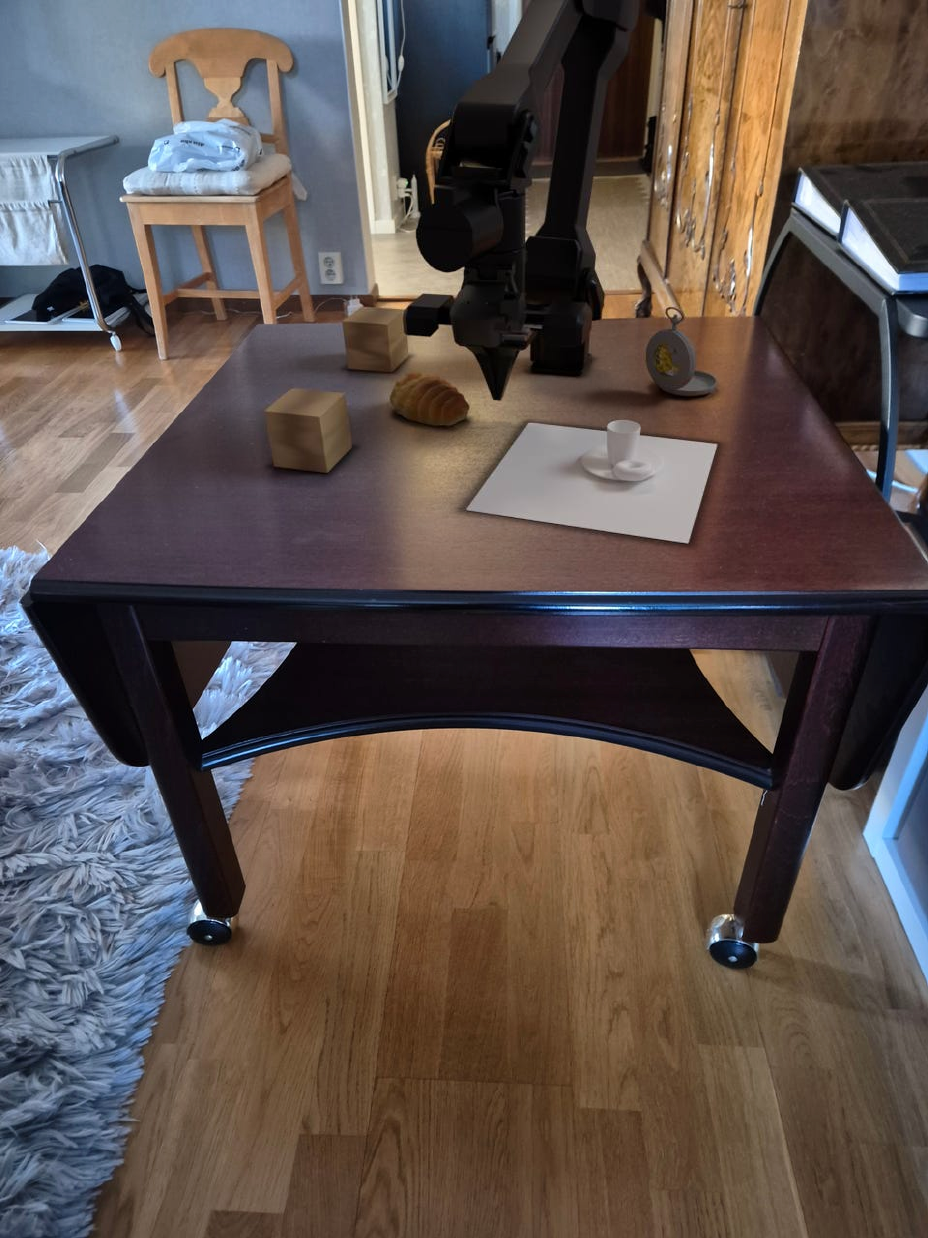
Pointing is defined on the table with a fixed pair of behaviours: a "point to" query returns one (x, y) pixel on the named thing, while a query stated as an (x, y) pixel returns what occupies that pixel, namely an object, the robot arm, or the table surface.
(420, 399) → the pastry
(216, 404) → the table surface
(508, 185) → the robot arm
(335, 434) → the block
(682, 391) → the pocket watch
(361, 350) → the block
